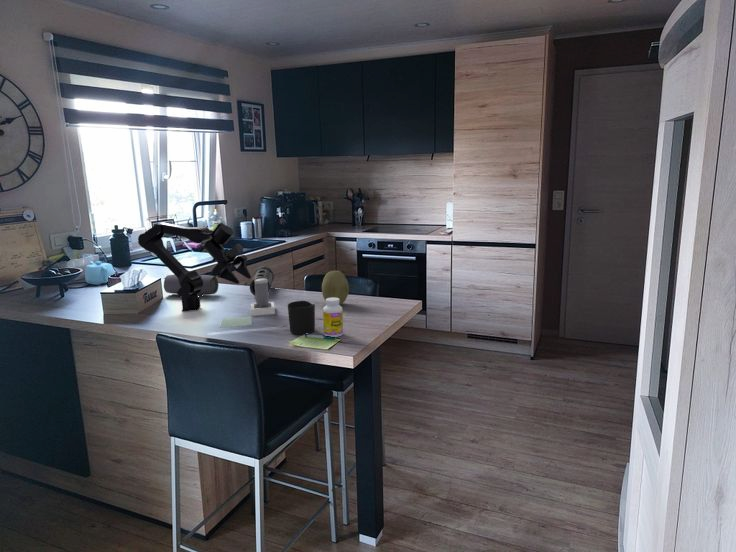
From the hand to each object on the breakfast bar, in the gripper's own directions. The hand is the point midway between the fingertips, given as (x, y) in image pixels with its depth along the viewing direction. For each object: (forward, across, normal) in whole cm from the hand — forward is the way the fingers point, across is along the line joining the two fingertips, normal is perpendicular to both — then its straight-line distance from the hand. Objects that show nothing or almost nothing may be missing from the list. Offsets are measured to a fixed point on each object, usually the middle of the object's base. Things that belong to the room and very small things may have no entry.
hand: (244, 280), depth 200 cm
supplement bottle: (+40, -18, -21) cm, 49 cm away
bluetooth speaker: (-18, +20, +37) cm, 46 cm away
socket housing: (+14, 0, +4) cm, 15 cm away
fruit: (+32, +19, -12) cm, 39 cm away
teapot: (-64, +33, +83) cm, 110 cm away
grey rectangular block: (+14, 0, +4) cm, 14 cm away
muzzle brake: (+2, +34, +17) cm, 38 cm away
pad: (+12, -14, +7) cm, 20 cm away
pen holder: (+32, -16, -12) cm, 38 cm away
